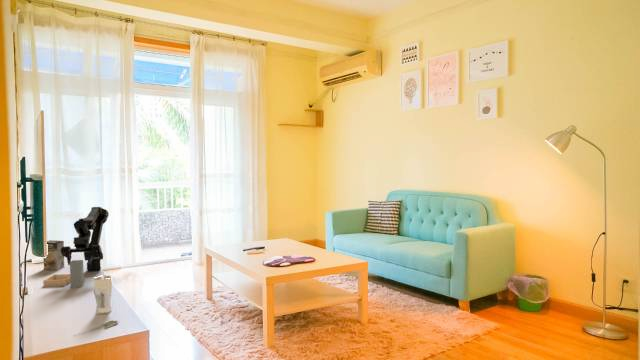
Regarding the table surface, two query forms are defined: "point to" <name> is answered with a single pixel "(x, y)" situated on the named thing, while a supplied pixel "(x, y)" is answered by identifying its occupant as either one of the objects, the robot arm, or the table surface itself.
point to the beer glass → (102, 294)
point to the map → (108, 324)
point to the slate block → (76, 273)
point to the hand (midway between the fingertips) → (78, 264)
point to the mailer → (57, 280)
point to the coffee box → (54, 255)
